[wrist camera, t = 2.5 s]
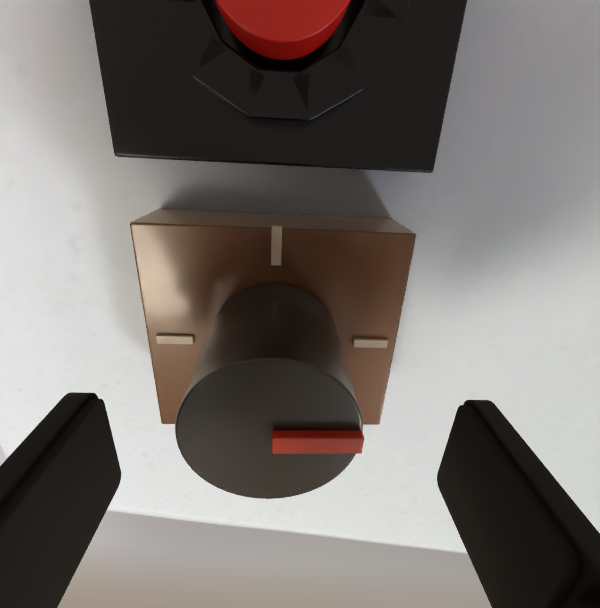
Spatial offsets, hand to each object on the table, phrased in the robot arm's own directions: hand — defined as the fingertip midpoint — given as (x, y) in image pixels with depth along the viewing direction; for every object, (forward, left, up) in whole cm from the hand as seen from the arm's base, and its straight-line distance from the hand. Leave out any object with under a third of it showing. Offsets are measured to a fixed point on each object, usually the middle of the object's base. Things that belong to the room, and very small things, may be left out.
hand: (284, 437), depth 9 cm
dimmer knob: (0, 0, -5) cm, 5 cm away
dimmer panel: (0, 0, -8) cm, 8 cm away
